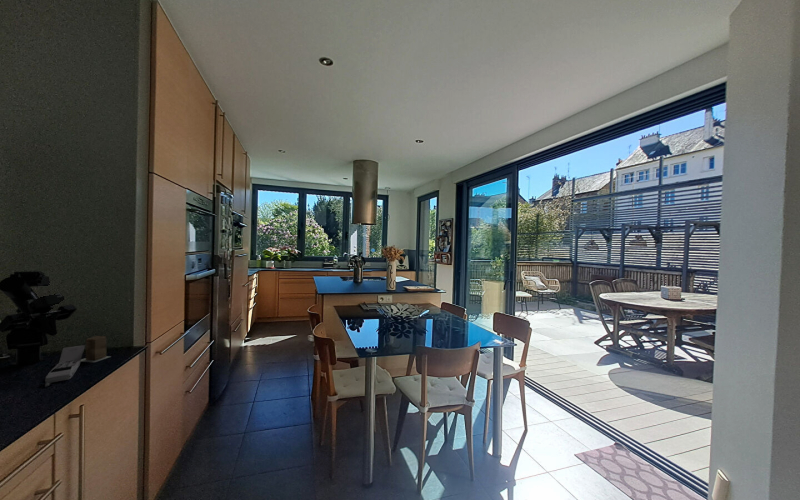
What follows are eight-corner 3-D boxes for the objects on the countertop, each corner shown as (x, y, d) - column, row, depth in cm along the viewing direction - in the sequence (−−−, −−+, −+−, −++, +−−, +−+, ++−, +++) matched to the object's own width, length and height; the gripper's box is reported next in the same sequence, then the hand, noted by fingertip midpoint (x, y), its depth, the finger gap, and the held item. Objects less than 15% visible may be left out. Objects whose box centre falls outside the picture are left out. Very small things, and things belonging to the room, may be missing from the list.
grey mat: (76, 362, 115) (76, 361, 115) (94, 356, 121) (94, 355, 121) (94, 363, 114) (94, 362, 114) (111, 357, 120) (111, 356, 120)
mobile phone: (85, 344, 118) (69, 365, 98) (86, 359, 118) (69, 383, 98) (63, 347, 114) (41, 370, 94) (63, 363, 114) (41, 388, 95)
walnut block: (85, 359, 116) (85, 339, 116) (97, 356, 120) (97, 336, 120) (95, 360, 116) (95, 339, 115) (106, 356, 120) (106, 336, 119)
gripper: (5, 291, 98) (34, 326, 98) (73, 283, 117) (98, 313, 116) (-16, 313, 100) (13, 349, 99) (55, 302, 118) (79, 332, 117)
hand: (54, 334), depth 108 cm, fingers closed
